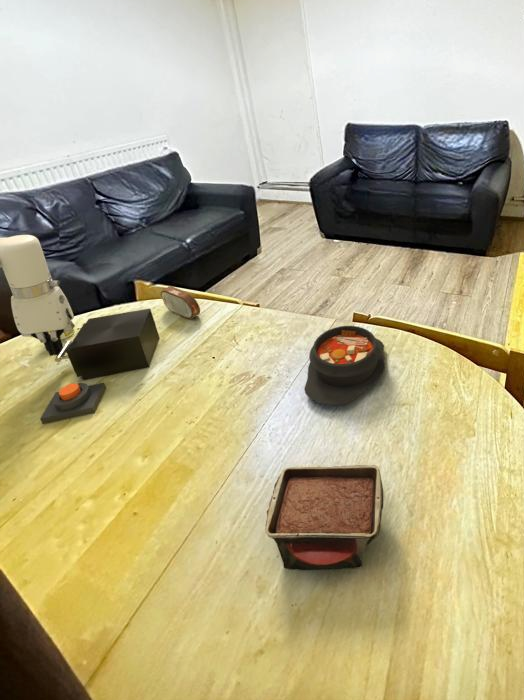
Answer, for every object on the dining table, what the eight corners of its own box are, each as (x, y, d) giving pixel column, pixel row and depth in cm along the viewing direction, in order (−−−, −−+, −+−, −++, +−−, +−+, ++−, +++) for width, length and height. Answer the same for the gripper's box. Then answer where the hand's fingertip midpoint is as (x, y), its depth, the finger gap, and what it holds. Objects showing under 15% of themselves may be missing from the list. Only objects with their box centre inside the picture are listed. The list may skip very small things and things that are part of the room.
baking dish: (298, 488, 75) (281, 454, 71) (394, 486, 72) (382, 450, 68) (272, 583, 63) (250, 549, 58) (387, 585, 60) (372, 549, 55)
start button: (58, 402, 90) (55, 396, 90) (65, 391, 93) (62, 385, 93) (77, 398, 91) (74, 392, 90) (83, 387, 94) (80, 381, 94)
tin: (203, 318, 124) (197, 294, 120) (194, 323, 121) (187, 299, 118) (172, 305, 131) (165, 282, 127) (163, 310, 128) (156, 287, 125)
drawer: (56, 381, 100) (44, 355, 96) (75, 351, 110) (64, 327, 107) (138, 365, 104) (129, 339, 101) (148, 337, 114) (140, 314, 111)
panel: (42, 424, 89) (36, 412, 87) (58, 397, 96) (52, 386, 94) (94, 413, 91) (89, 401, 90) (106, 387, 98) (101, 376, 97)
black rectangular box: (83, 380, 101) (69, 348, 97) (100, 348, 112) (88, 318, 108) (149, 367, 104) (138, 336, 100) (159, 337, 116) (150, 308, 112)
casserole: (336, 334, 114) (334, 308, 110) (400, 348, 107) (399, 321, 104) (285, 399, 93) (280, 370, 89) (361, 421, 86) (358, 391, 83)
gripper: (76, 276, 101) (95, 338, 108) (3, 284, 97) (28, 348, 104) (63, 291, 94) (85, 356, 101) (-16, 300, 90) (12, 367, 97)
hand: (56, 352), depth 103 cm, fingers closed
